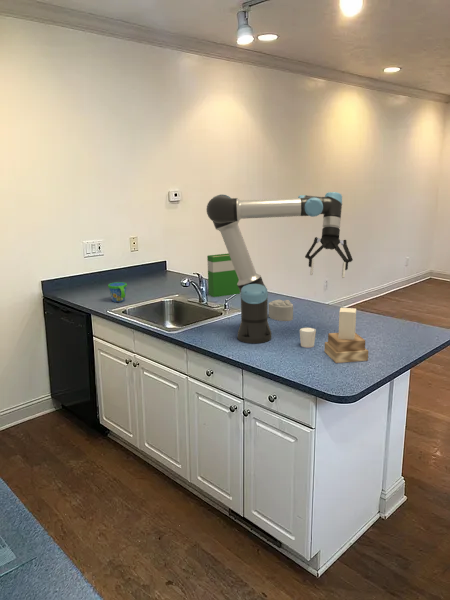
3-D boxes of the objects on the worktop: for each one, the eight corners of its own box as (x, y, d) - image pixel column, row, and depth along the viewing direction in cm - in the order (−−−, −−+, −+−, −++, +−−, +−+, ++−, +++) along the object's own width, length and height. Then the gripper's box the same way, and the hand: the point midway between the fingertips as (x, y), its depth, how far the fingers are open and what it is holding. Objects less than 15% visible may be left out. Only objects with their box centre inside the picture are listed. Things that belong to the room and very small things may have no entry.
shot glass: (304, 341, 216) (304, 326, 214) (318, 344, 212) (318, 329, 210) (296, 345, 211) (296, 330, 209) (310, 349, 206) (310, 333, 205)
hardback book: (234, 291, 309) (233, 252, 303) (239, 293, 303) (239, 254, 297) (208, 294, 301) (207, 255, 295) (213, 297, 295) (212, 257, 289)
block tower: (335, 363, 191) (336, 343, 189) (324, 351, 204) (324, 332, 202) (367, 360, 193) (368, 341, 191) (354, 349, 205) (355, 330, 203)
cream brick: (338, 338, 194) (339, 311, 192) (339, 333, 200) (340, 307, 197) (354, 339, 193) (355, 312, 190) (355, 335, 198) (356, 308, 195)
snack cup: (131, 302, 287) (130, 285, 284) (113, 305, 282) (112, 287, 280) (123, 296, 300) (122, 280, 298) (106, 299, 296) (104, 282, 293)
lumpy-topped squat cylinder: (281, 313, 260) (281, 297, 257) (298, 319, 249) (298, 302, 247) (265, 316, 254) (265, 300, 252) (281, 322, 243) (282, 305, 241)
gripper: (358, 232, 220) (354, 279, 218) (301, 227, 222) (297, 274, 220) (361, 228, 212) (358, 277, 210) (303, 223, 214) (299, 272, 212)
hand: (327, 276), depth 215 cm, fingers open, 13 cm apart
